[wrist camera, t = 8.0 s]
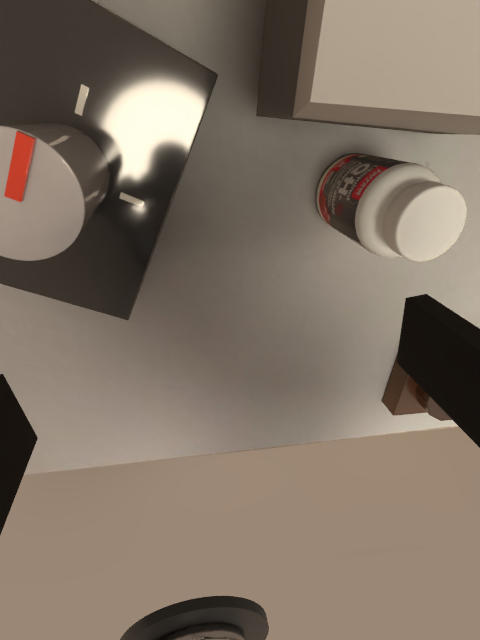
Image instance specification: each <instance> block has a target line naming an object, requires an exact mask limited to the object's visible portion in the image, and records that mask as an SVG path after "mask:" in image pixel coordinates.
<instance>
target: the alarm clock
mask: <svg viewBox="0 0 480 640" xmlns="http://www.w3.org/2000/svg"><path fill="white" fill-rule="evenodd" d="M257 116H261V117H271V118H282V119H292V120H302V121H312V122H322V123H332V124H343V125H353V126H363V127H373V128H383V129H393V130H404V131H414V132H424V133H434V134H473V135H480V0H267V4H266V15H265V26H264V38H263V49H262V60H261V72H260V83H259V94H258V105H257Z"/></svg>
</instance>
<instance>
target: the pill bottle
mask: <svg viewBox="0 0 480 640" xmlns="http://www.w3.org/2000/svg"><path fill="white" fill-rule="evenodd" d="M316 199H317V207H318V210H319V213H320V215H321V217H322V218H323V219H324V221H325V222H326V223H328V224H329V225H330V226H332V227H333V228H334V229H336V230H338V231H339V232H341V233H342V234H344V235H346V236H347V237H349V238H350V239H352V240H353V241H355V242H356V243H358V244H359V245H361V246H362V247H364V248H365V249H367V250H368V251H370V252H371V253H374V254H376V255H379V256H382V257H390V258H391V257H400V256H402V257H404V258H406V259H409V260H412V261H418V262H422V261H428V260H431V259H434V258H436V257H438V256H440V255H441V254H443V253H444V252H446V251H447V250H448V249H449V248H450V247H451V246H452V245H453V244H454V243H455V241H456V240H457V239H458V237H459V235H460V234H461V232H462V230H463V227H464V224H465V221H466V214H467V210H466V203H465V200H464V198H463V196H462V195H461V194H460V193H459V192H458V191H457V190H456V189H454V188H452V187H450V186H447V185H443V184H442V183H441V181H440V179H439V178H438V176H437V175H436V174H435V173H434V172H433V171H432V170H430V169H428V168H427V167H424V166H422V165H419V164H416V163H409V162H404V161H398V160H393V159H387V158H382V157H376V156H371V155H364V154H351V155H347V156H345V157H342V158H340V159H339V160H337V161H336V162H334V163H333V164H332V165H331V166H330V167H329V168H328V169H327V170H326V172H325V173H324V174H323V177H322V178H321V180H320V183H319V186H318V190H317V198H316Z"/></svg>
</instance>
